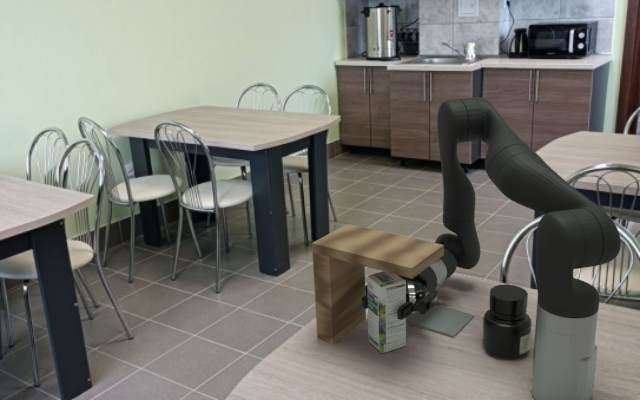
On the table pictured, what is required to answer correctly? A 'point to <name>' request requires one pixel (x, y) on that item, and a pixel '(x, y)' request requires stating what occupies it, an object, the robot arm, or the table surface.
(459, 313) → the mat
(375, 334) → the syrup box
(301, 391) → the table surface
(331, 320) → the shelf
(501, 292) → the ink bottle
